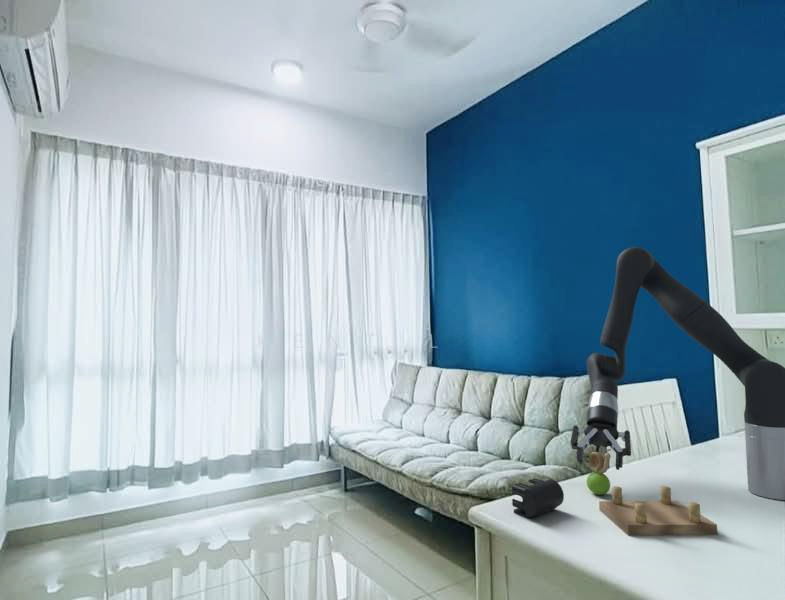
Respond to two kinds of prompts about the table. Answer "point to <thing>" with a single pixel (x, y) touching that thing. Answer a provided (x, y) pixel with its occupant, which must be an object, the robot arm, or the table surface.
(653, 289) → the robot arm
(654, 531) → the wooden peg board
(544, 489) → the end cap
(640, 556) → the table surface
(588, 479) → the snail figurine
